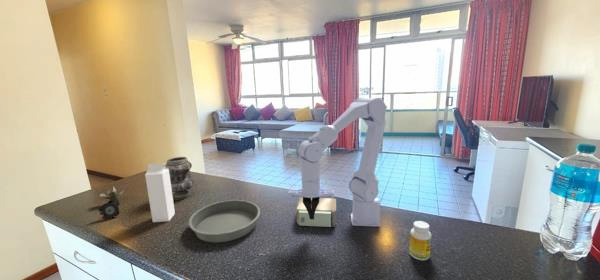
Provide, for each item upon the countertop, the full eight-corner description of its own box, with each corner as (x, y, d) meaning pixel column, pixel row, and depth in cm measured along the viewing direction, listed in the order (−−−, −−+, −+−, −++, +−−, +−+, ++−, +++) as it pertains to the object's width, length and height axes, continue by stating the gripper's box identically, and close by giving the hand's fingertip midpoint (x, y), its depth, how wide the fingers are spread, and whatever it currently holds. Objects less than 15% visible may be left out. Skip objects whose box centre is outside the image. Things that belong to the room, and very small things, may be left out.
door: (334, 225, 88) (334, 210, 87) (334, 229, 86) (334, 214, 85) (299, 223, 90) (299, 209, 89) (298, 227, 88) (298, 212, 86)
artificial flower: (96, 225, 97) (83, 203, 95) (112, 208, 117) (102, 189, 115) (121, 214, 100) (110, 192, 98) (133, 199, 120) (124, 180, 118)
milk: (169, 221, 95) (160, 165, 91) (152, 222, 95) (143, 166, 90) (175, 213, 101) (168, 161, 97) (159, 214, 101) (151, 161, 96)
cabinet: (336, 211, 98) (336, 198, 97) (336, 225, 89) (336, 210, 88) (300, 210, 100) (300, 197, 99) (297, 223, 91) (296, 209, 90)
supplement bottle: (410, 246, 76) (412, 217, 74) (430, 252, 73) (433, 222, 71) (407, 257, 71) (409, 226, 69) (428, 263, 68) (431, 231, 66)
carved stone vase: (186, 188, 127) (182, 154, 124) (200, 193, 120) (196, 157, 117) (162, 197, 118) (157, 160, 114) (176, 203, 111) (170, 164, 107)
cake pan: (173, 238, 84) (171, 226, 83) (220, 206, 107) (219, 196, 106) (235, 252, 76) (234, 239, 75) (272, 214, 98) (271, 204, 98)
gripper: (333, 174, 83) (334, 212, 85) (290, 174, 84) (292, 211, 87) (333, 182, 76) (334, 223, 78) (286, 182, 78) (288, 222, 80)
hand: (312, 217), depth 82 cm, fingers closed
